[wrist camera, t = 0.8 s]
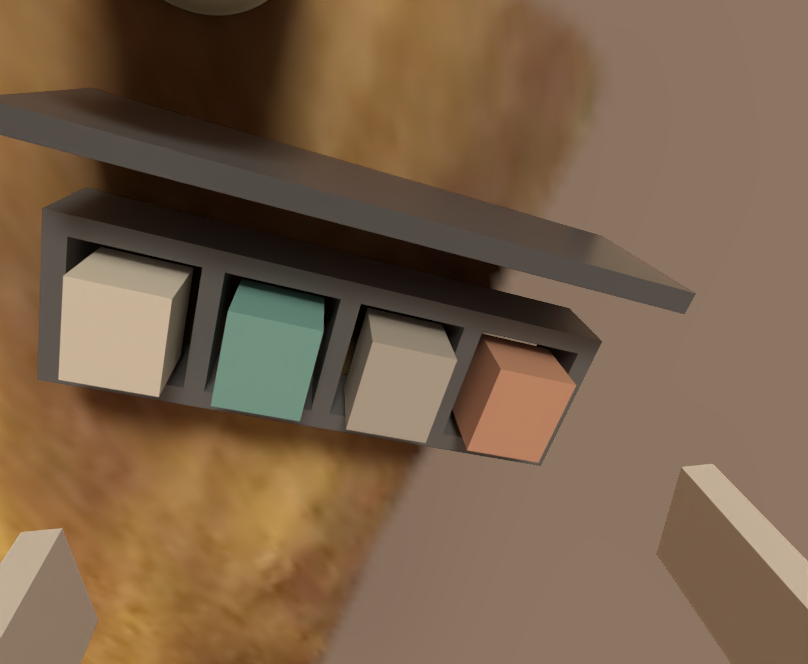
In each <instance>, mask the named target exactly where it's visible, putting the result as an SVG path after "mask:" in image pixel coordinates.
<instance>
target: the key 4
mask: <svg viewBox="0 0 808 664" xmlns="http://www.w3.org/2000/svg"><path fill="white" fill-rule="evenodd" d="M575 387H576V384H575V383H574V382H573V380H572V379H571V378H570V377H569V375H568V374H567V373H566V371H565V370H564V369H563V368H562V366H561V365H560V364H559V362H558V361H557V360H556V358H555V357H554V356H553V355H552V353H551V352H550V351H549V349H546V348H542V347H538V346H533V345H529V344H524V343H520V342H515V341H511V340H507V339H502V338H498V337H494V336H489V335H485V334H482V335H481V337H480V340H479V342H478V345H477V347H476V350H475V352H474V355H473V357H472V360H471V363H470V365H469V368H468V370H467V373H466V375H465V378H464V380H463V383H462V385H461V388H460V391H459V393H458V396H457V398H456V401H455V403H454V406H453V408H452V410H453V413H454V416H455V418H456V421H457V424H458V427H459V430H460V432H461V435H462V438H463V441H464V444H465V446H466V449H467V450H468V451H474V452H480V453H485V454H491V455H497V456H503V457H508V458H514V459H520V460H526V461H532V462H537V463H539V461H540V458H541V456H542V454H543V452H544V450H545V448H546V446H547V444H548V442H549V440H550V438H551V436H552V434H553V432H554V430H555V428H556V426H557V424H558V422H559V420H560V418H561V416H562V414H563V412H564V410H565V408H566V406H567V404H568V401H569V399H570V397H571V395H572V393H573V391H574V389H575Z"/></svg>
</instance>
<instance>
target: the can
mask: <svg viewBox="0 0 808 664" xmlns="http://www.w3.org/2000/svg"><path fill="white" fill-rule="evenodd" d="M164 1H166V2H168V3H170V4H172V5H174V6H177V7H179V8H182V9H184V10H187V11H191V12H194V13H199V14H204V15H232V14H238V13H241V12H245V11H248V10H251V9H253V8H255V7H257V6H259V5H261V4H263V3H265V2H266V1H268V0H164Z"/></svg>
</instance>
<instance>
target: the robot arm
mask: <svg viewBox="0 0 808 664" xmlns="http://www.w3.org/2000/svg"><path fill="white" fill-rule="evenodd" d="M657 555H658V557H659V558H660V560H661V561H662V563H663V564H664V566H665V567H666V569H667V570H668V572H669V573H670V574H671V576H672V577H673V579H674V580H675V582H676V583H677V585H678V586H679V588H680V589H681V591H682V592H683V594H684V595H685V597H686V598H687V599H688V601H689V602H690V604H691V605H692V607H693V608H694V610H695V611H696V613H697V614H698V616H699V617H700V618H701V620H702V622H703V623H704V624H705V626H706V627H707V629H708V630H709V632H710V633H711V635H712V636H713V638H714V639H715V641H716V642H717V644H718V645H719V646H720V648H721V650H722V651H723V652H724V654H725V655H726V657H727V658H728V660H729V661H730V663H731V664H808V561H807V560H806V559H805V558H804V557H803V556H802V555H801V554H800V553H799V552H798V551H797V550H796V549H795V548H794V547H793V546H792V545H791V544H790V543H789V542H788V541H787V540H786V539H785V538H784V537H783V536H782V535H781V533H779V531H778V530H777V529H776V528H775V527H774V526H773V525H772V524H771V523H770V522H769V521H768V520H767V519H766V518H765V517H764V516H763V515H762V514H761V513H760V512H759V511H758V510H757V509H756V508H755V507H754V506H753V505H752V504H751V503H750V502H749V501H748V500H747V499H746V498H745V497H744V496H743V495H742V494H741V492H740V491H739V490H738V489H736V487H735V486H734V485H733V484H732V483H731V482H730V481H729V480H728V479H727V478H726V477H725V476H724V475H723V474H722V473H721V472H720V471H719V470H718V469H717V468H716V467H715V466H714V465H713V464H707V465H698V466H687V467H681V470H680V474H679V477H678V481H677V484H676V488H675V491H674V495H673V498H672V502H671V505H670V509H669V512H668V515H667V519H666V522H665V526H664V529H663V533H662V537H661V540H660V543H659V547H658V550H657ZM97 622H98V618H97V616H96V613H95V611H94V608H93V606H92V603H91V600H90V598H89V595H88V593H87V590H86V588H85V585H84V582H83V580H82V577H81V575H80V572H79V570H78V567H77V564H76V562H75V559H74V557H73V554H72V552H71V549H70V546H69V544H68V541H67V539H66V536H65V534H64V531H63V528H60V529H50V530H39V531H29V532H21V533H20V534H19V536H18V537H17V539H16V540H15V542H14V544H13V545H12V547H11V548H10V550H9V551H8V553H7V554H6V556H5V557H4V559H3V561H2V562H1V564H0V664H81V661H82V659H83V656H84V654H85V651H86V649H87V647H88V644H89V642H90V639H91V637H92V634H93V632H94V629H95V627H96V624H97Z"/></svg>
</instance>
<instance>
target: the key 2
mask: <svg viewBox="0 0 808 664" xmlns="http://www.w3.org/2000/svg"><path fill="white" fill-rule="evenodd" d="M323 331H324V298H323V297H319V296H314V295H310V294H305V293H301V292H297V291H292V290H288V289H283V288H279V287H275V286H270V285H266V284H262V283H257V282H253V281H248V280H244V279H241V281H240V284H239V286H238V289H237V291H236V293H235V296H234V298H233V300H232V303H231V305H230V307H229V310H228V313H227V319H226V324H225V330H224V335H223V341H222V346H221V352H220V357H219V363H218V368H217V374H216V380H215V385H214V391H213V396H212V402H211V406H213V407H219V408H225V409H230V410H236V411H242V412H248V413H254V414H259V415H265V416H271V417H277V418H283V419H288V420H294V421H300V419H301V415H302V411H303V408H304V404H305V400H306V396H307V392H308V389H309V385H310V381H311V377H312V373H313V370H314V366H315V362H316V358H317V354H318V350H319V347H320V343H321V339H322V335H323Z"/></svg>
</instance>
